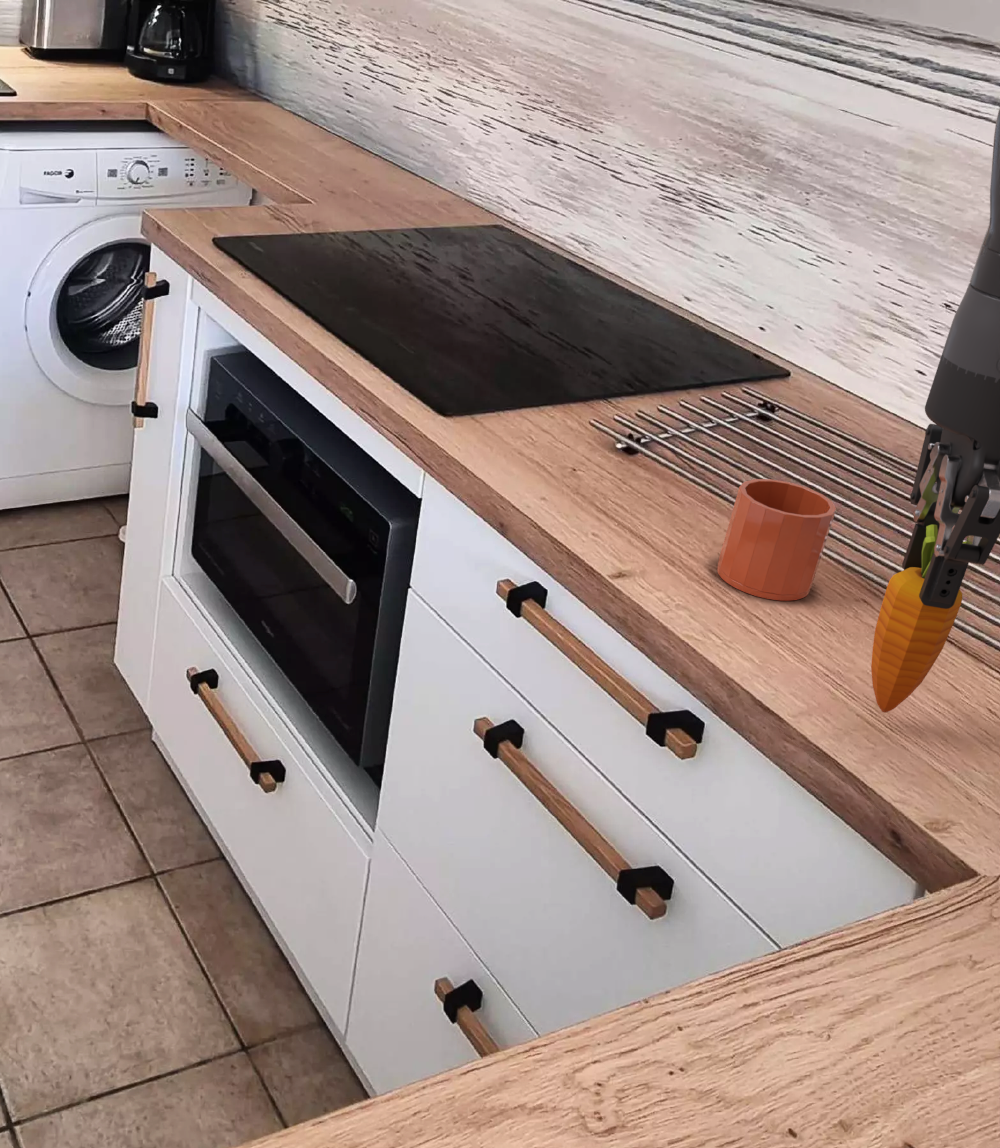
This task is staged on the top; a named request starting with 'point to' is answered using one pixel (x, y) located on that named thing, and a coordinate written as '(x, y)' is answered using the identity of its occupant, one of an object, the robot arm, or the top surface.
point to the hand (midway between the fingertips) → (925, 587)
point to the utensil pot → (775, 539)
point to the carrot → (908, 632)
